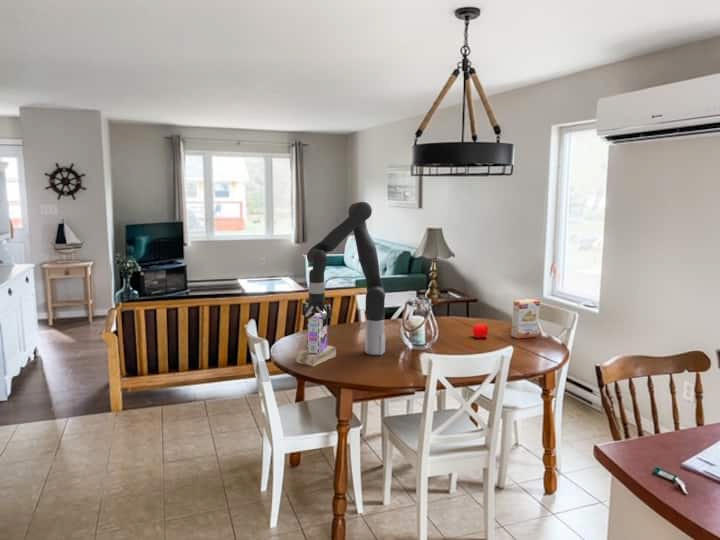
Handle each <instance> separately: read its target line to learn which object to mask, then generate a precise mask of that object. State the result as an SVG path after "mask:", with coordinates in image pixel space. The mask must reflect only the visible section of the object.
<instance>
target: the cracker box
mask: <svg viewBox="0 0 720 540" xmlns="http://www.w3.org/2000/svg"><path fill="white" fill-rule="evenodd" d="M540 304H541V302H540V301H539V300H537V299H532V298H531V299H519V300H513V304H512V317H511V318H512V319H511V333H510V334H511V335H510V336H511V337H512V338H515V339H516V340H518V339H526V338H528V339H529V338H537V337H538V329H539V317H540V315H539V314H540Z"/></svg>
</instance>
